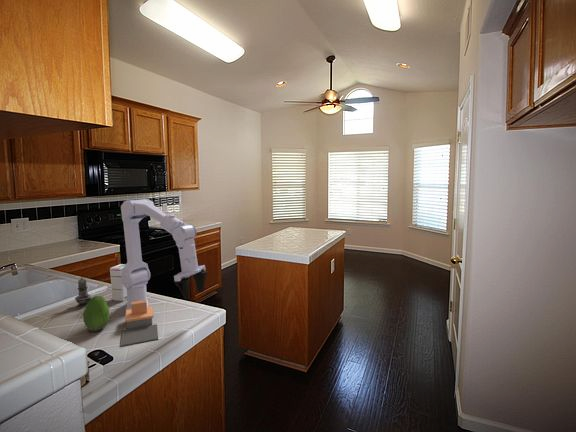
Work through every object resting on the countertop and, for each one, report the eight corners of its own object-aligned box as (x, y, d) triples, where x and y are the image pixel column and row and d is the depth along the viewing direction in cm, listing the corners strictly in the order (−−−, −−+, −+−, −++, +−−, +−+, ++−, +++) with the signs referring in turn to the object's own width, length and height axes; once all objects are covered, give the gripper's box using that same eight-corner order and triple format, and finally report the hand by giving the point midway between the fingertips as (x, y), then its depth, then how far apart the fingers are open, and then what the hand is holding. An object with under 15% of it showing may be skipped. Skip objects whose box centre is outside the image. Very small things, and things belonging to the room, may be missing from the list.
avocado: (115, 324, 115) (113, 292, 114) (99, 335, 108) (97, 301, 106) (95, 323, 117) (92, 291, 115) (78, 333, 109) (75, 299, 107)
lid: (126, 314, 119) (125, 299, 118) (152, 310, 123) (152, 295, 122) (125, 325, 111) (124, 308, 110) (153, 320, 115) (152, 304, 114)
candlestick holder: (81, 302, 135) (79, 274, 134) (95, 302, 135) (93, 274, 133) (72, 308, 129) (69, 279, 128) (86, 308, 129) (84, 279, 128)
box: (128, 320, 119) (127, 312, 119) (151, 316, 123) (151, 308, 122) (127, 329, 112) (126, 321, 112) (152, 325, 115) (151, 317, 115)
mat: (122, 331, 111) (122, 329, 111) (156, 325, 115) (156, 324, 115) (120, 346, 101) (120, 345, 101) (158, 339, 106) (158, 338, 105)
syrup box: (123, 301, 136) (121, 268, 134) (111, 300, 137) (109, 267, 136) (132, 296, 142) (131, 264, 140) (121, 295, 143) (119, 263, 141)
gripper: (183, 262, 107) (189, 302, 108) (209, 253, 120) (215, 288, 121) (167, 263, 110) (173, 302, 111) (194, 254, 123) (200, 288, 124)
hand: (194, 295), depth 116 cm, fingers open, 7 cm apart
